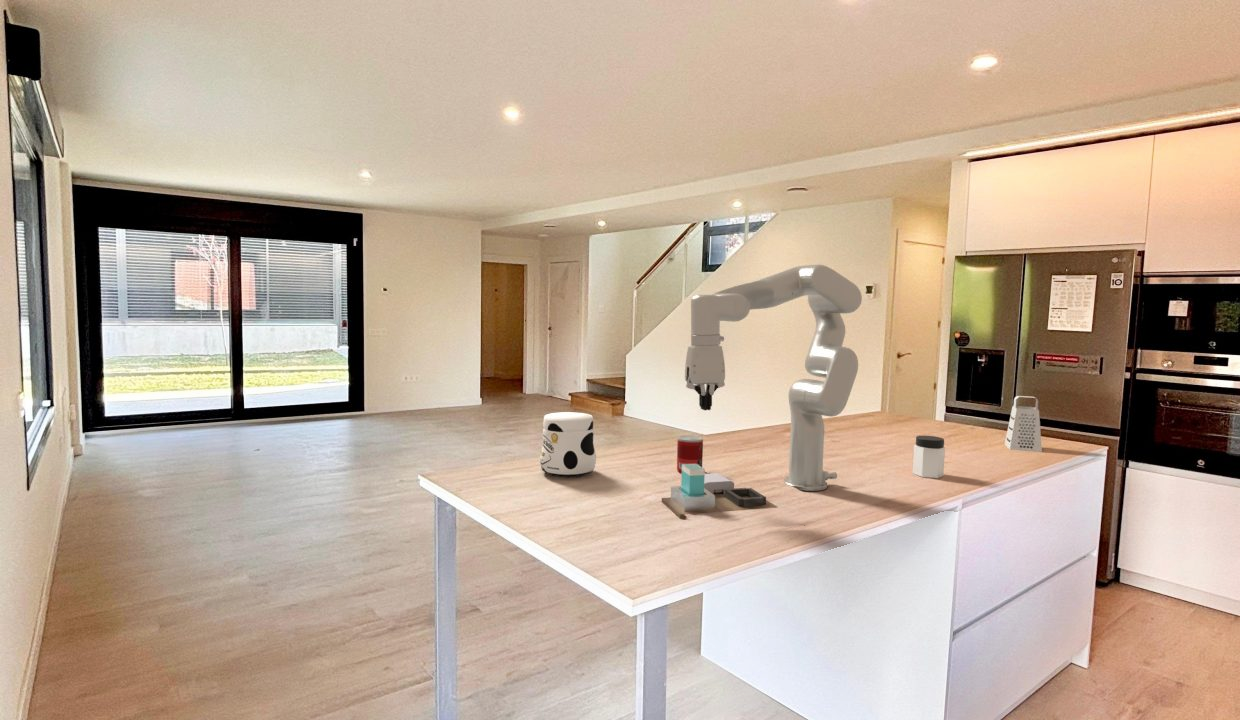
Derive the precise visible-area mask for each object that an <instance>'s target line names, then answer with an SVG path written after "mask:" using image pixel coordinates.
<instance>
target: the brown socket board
mask: <svg viewBox="0 0 1240 720" xmlns="http://www.w3.org/2000/svg"><path fill="white" fill-rule="evenodd" d="M714 495H715V509H713V510H699V511H685V512H684V511H683V510H682V509H681V508H680V507H679V506H677V505H676V504H675V503H674V502H673V501H672V500H671V496H669V497H661V503H662V504H663V505H665V507H667V508H668V510H670V511H671V512H673V514H675V516H677V517H678V518H679V519H687V518H688V517H687V515H691V514H694V515H695V514H704V513H705V514H708V513H721V512H735V511H736V512H737V511H747V510H750V511H751V510H762V509H763V510H764V509H773V508H774V509H775V508H778V506H777V505H775V504H774V503H772V502H770V501H769V500H768V499H767V496H765V495H763V494H762V493H760V492H758V491H757V490H755V489H753V488H752V487H751V488H749V487H737V488H735V487H734V489H728V490H725V494H724V493H720V494H714Z"/></svg>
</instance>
